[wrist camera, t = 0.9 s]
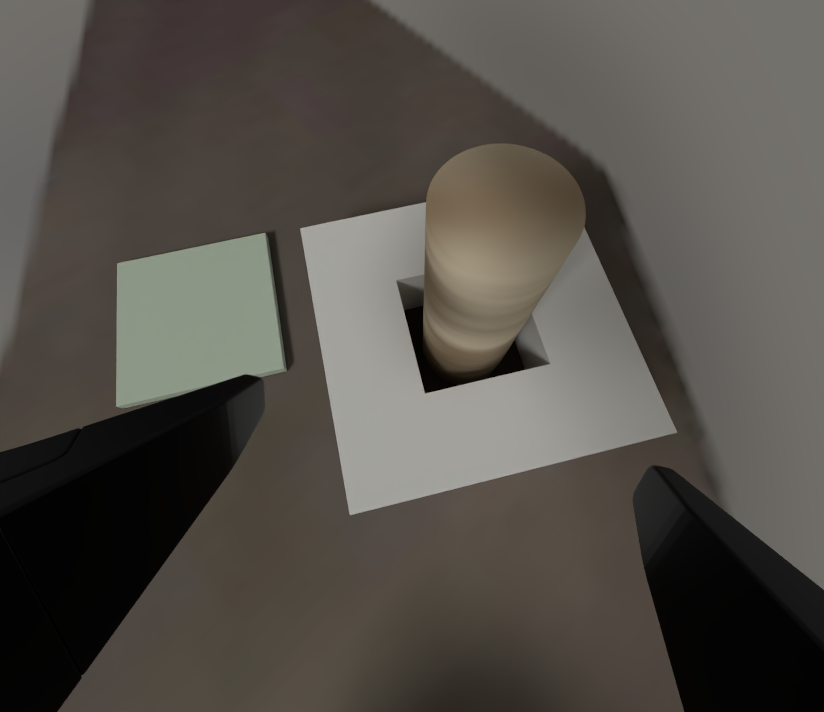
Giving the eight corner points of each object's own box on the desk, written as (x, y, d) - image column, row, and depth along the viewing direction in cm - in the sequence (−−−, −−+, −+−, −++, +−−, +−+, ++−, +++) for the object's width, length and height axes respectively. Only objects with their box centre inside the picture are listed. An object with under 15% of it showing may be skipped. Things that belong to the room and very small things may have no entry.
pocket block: (633, 441, 23) (677, 432, 19) (362, 510, 22) (349, 515, 18) (541, 217, 28) (560, 174, 24) (317, 265, 27) (300, 228, 23)
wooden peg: (512, 374, 24) (611, 254, 12) (433, 393, 24) (449, 291, 11) (488, 302, 26) (553, 131, 13) (414, 319, 25) (409, 160, 13)
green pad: (287, 370, 24) (283, 368, 24) (123, 408, 24) (116, 406, 23) (268, 238, 27) (265, 232, 27) (123, 268, 27) (117, 263, 26)
